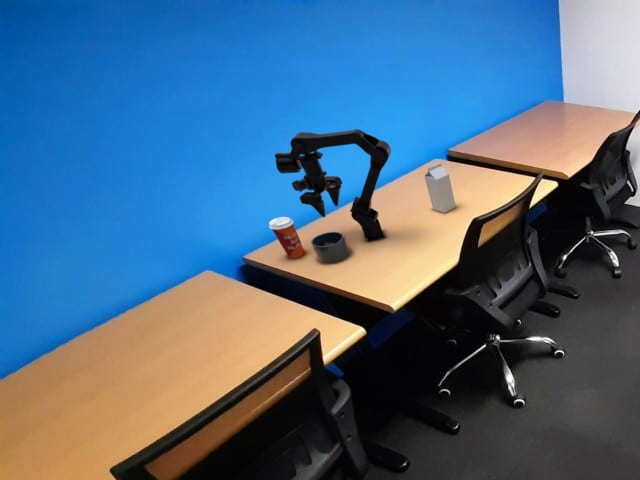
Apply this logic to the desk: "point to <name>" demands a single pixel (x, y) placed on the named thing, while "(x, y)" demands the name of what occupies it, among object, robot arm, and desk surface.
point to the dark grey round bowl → (330, 247)
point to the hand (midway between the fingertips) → (330, 211)
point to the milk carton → (440, 188)
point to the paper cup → (287, 236)
